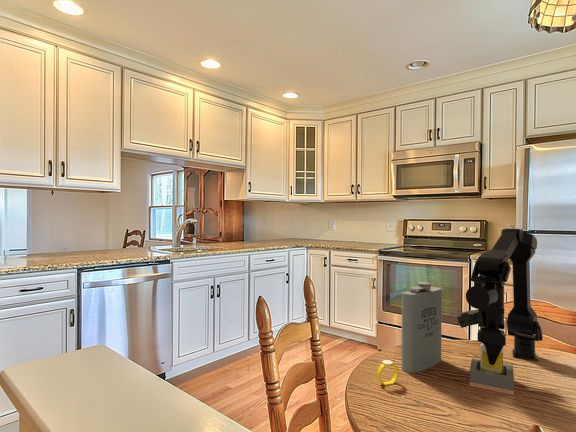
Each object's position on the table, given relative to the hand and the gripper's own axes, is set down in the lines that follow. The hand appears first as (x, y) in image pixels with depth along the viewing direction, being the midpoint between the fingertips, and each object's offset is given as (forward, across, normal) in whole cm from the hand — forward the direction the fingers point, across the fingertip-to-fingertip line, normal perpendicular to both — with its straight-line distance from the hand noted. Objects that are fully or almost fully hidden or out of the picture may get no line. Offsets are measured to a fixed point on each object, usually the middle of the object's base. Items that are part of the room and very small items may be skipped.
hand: (491, 360), depth 98 cm
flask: (+6, -3, -18) cm, 19 cm away
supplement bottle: (+4, 0, 0) cm, 4 cm away
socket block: (+6, 0, 0) cm, 6 cm away
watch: (+6, +15, -24) cm, 29 cm away
